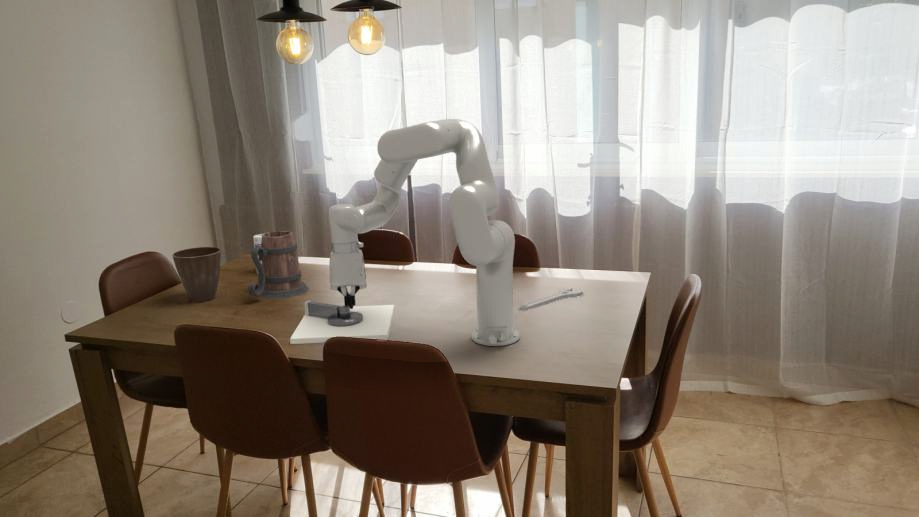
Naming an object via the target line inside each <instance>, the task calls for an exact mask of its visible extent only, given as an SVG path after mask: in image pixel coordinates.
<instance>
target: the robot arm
mask: <svg viewBox="0 0 919 517" xmlns="http://www.w3.org/2000/svg"><path fill="white" fill-rule="evenodd" d="M376 147H377V154H378V156H379V157H380V160H379V163H378V164H377V165H376V167H375V170H374V172H373V176H374V179H375V180H376V181H377V182H378V184H380V187H379V189H378V191H377V193H376V195H375V196H374V198H373V200H372V201H371V202H368V203H365V204H362V205H358V206H356V207H355V206H354V205H353V204H349V203H339V204H334V205H331V206H330V208H329V209H328V214H329V228H330V237H331V250H332V251H330V255H329V283H330V287H329V289H330V290H333V291H338V293H340V294H341V295H342V297H343V300H344V305H347V306H350V309H353V307H354V306H356V294H357V293H358V292H359V291H360V290H364V289H367V287H368V284H367V281H366V280H367V273H366V271H367V270H366V265H365V259H364V254H363V251H362V249H361V248H364V242H361V241H359V239H358V237H359V235H362V234H365V233H368V232H370V231H374V230H375V229H379V228H382V227H384V226H386V224H388V222H389V221H390V219H391V218H392V217H393V215H394V213H395V212H396V211H397V209H398V207H399V205H400V203H401V199H402V195H403V194H402V193H403V190H402V189H403V185H404V184H405V182H406V180H407V179H408V178H409V175H410V173H412V170H413V169H414V167H415V165H416V164H417V162H418V160H423V159H428V158H434V157H439V156H441V155H446V154H449V153H454V154H455V169H456V174H457V177H458V178H459V183H460V184H459V186H457V187H456V188H454V190H453V191H452V192H451V194H450V196H449V198H448V199H449V200H448V214H449V218H450V221H451V224H452V228H453V232H454V235H455V239H456V243H457V245H458V250H459V251H460V254H461V256H462V257H463V258H464V260H465V261H466V262H467V263H468V264H469V265H471V266H475V268H476V270H475V271H476V272H475V281H476V282H475V283H476V284H475V286H476V287H475V288H476V312H477V313H476V316H477V318H476V319H477V320H476V322H477V329H476V330H474V331H473V332H472V334H471V338H472V340H473V342H475V343H477V344H478V345H483V346H486V347H487V346H488V347H501V346H503V347H504V346H508V345H511V344H514V343H516V342H517V341H518V340H519V339H520V338H521V337H520V332H519V331H518V330H517V329H516V328H514V326H515V325H514V293H513V292H514V291H513V290H514V288H513V287H514V285H513V284H514V283H513V280H514V279H513V278H514V275H513V273H514V272H513V268H514V267H513V265H514V254H515V244H516V239H515V234H514V233H515V232H514V230H513V229H512V227H511V226H510V225H509V224H508V223H506V222H505V221H503V220H500V219H499V220H498V219H493V220H489V219H488V217H489V216H491V215H492V214H494V213H495V212H496V211H497V210H498V209H499V206H500V197H499V192H498V189H497V185H496V181H495V178H494V174H493V170H492V166H491V165H490V160H489V157H488V152H487V148H486V146H485V141H484V138H483V136H482V134H481V133H480V130H478V128H477V127H476V126H474V124H472V123H470V122H469V121H466V120H463V119H457V118H445V119H439V120H434V121H428V122H423V123H418V124H415V125H409V126H405V127H401V128H395V129H391V130H387V131H385V132H384V133H383V134H382V135H381V136H380V138H379V139H378V141H377V146H376ZM358 234H359V235H358ZM348 287H350V292H349V290H348Z"/></svg>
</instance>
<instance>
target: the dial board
mask: <svg viewBox="0 0 919 517" xmlns="http://www.w3.org/2000/svg"><path fill="white" fill-rule="evenodd" d="M350 311H351V312H359V313H361V314H362V315H363V320H362V321H361V322H360V323H358V324H355V325H350V326H332V325H330V324H328V320H327V318H325V317H319V316H313V315H306V314H304V315H303V317H302V319H301V320H300V322H299V323H298V325H297V327H296V328H295V330H294V332H293V333H292V335H291V336H290V338H289V341H290V342H289V343H290V345H299V344H302V345H304V344H325V343H324V342H325V341H326V340H327V339H329V338H331V337H336V336H345V337H361V338H376V339H388V340H389V335H390V331H391V328H392V327H391V326H392V323H393V318H394V315H395V311H396V310H395V304H381V305H359V306H358V305H357V306H356V305H354V307H353V309H350Z"/></svg>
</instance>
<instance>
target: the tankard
mask: <svg viewBox="0 0 919 517" xmlns="http://www.w3.org/2000/svg"><path fill="white" fill-rule="evenodd" d="M261 234H262V240H261V246H260V247H254V246H253V248H252V249H251V252H250V257H251V260H252V262H253V264H254V266H255V267H256V272H257V271H258V274H257V277H258V279H257V280H258V281H257V283H256V282H251V283H249V284H248V287H247V289H248V292H249V294H250V295H252V296H257V297H258V296H259V298H263V299H270V300H271V299H273V300H277V299H280V300H281V299H287V298H288V299H289V298H294V297H297V296H301V295H303V294H306V293H307V292H308V291H309V289H310V288H309V287H308V286H307V285H306V283H305V282H303V281H302V271H301V269H300V261H299V256H298V255H299V254H298V244H297V242H296V240H295V239H296V238H295V235H294V233H293V231H289V230H281V231H280V230H279V231H268V232H264V233H261ZM258 255H259V258H258ZM259 260H260V261H262V264H261V262H260V261H259Z"/></svg>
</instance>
